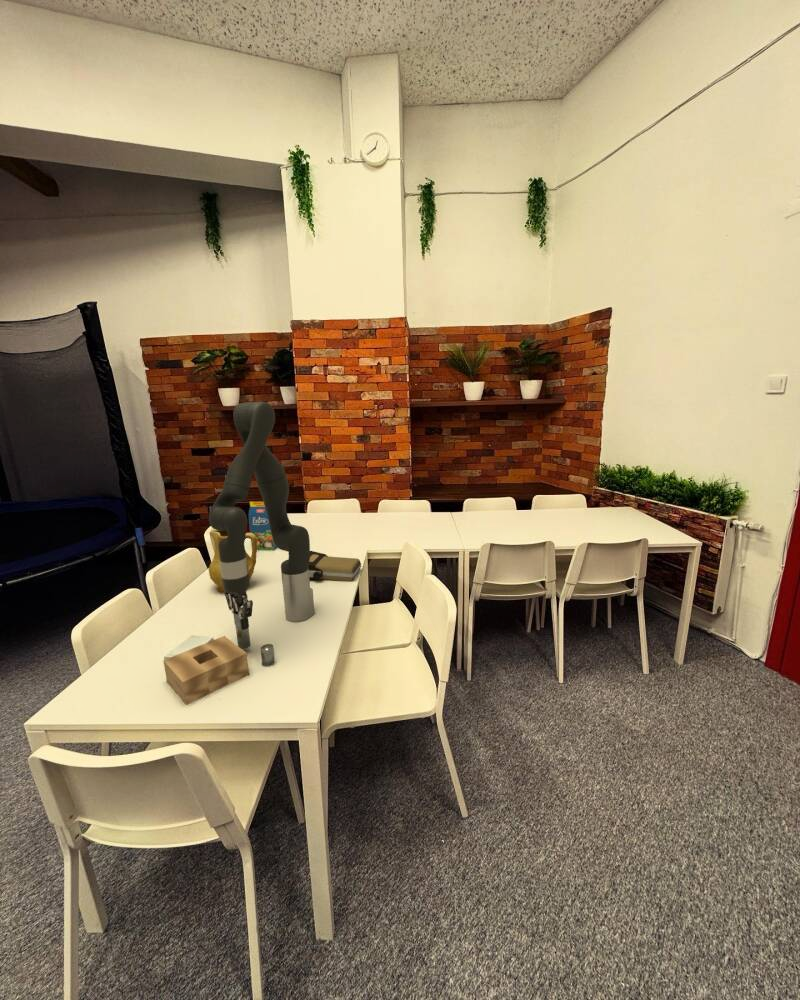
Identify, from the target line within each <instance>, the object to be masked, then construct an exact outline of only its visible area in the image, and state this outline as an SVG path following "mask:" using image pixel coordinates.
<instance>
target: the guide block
mask: <svg viewBox="0 0 800 1000" xmlns="http://www.w3.org/2000/svg"><path fill="white" fill-rule="evenodd" d="M248 660H249V659H248V653H247V652H246V651H245V650H244V649H241V648H239V647H238V644H236V643H235V642H233V641H232V640H230V639H229V638H228V637H227V636H226V635H223V636H220V637H218V638H216V639H214V640H213V641H210V642H208V643H205V644H203V645H200V646H198V647H195V648H193V649H190V650H188V651H185V652H183V653H180V654H178V655H175V656H173V657H170V658H168V659H165V660H164V659H163V661H162V662H163V666H164V673H165V679H166V682H167V683H168V685H169V686H170V687H171V689H172V690H173V691H174V692H175V693H176V694H177V695H178V697H179V698H180V699H181V700H182V701H183V703H184V704H185V705H189V704H191V703H193V702H195V701H197V700H199V699H201V698H203V697H205V696H207V695H209V694H211V693H213V692H216V691H217V690H219V689H222V688H224V687H226V686H229V684H232V683H234V682H237V681H239V680H240V679H242V678H245V677H247V676H249V675H250V670H249V661H248Z"/></svg>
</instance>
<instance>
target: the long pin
mask: <svg viewBox="0 0 800 1000" xmlns="http://www.w3.org/2000/svg"><path fill="white" fill-rule="evenodd" d="M234 619H235V622H234V625H235V633H236V640H237V646H238V647H239V648H241V649H242V650H246V649H249V648H250V647H251V645H252V644H251V635H250V627H249V628H247V629H245V630H242V629H241V624H240V617H239V613H238V612H235V613H234V615H233V620H234Z"/></svg>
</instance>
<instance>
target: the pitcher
mask: <svg viewBox="0 0 800 1000" xmlns="http://www.w3.org/2000/svg"><path fill="white" fill-rule="evenodd" d="M209 534H210V536H212V539H213V541H214V550H215V551H214V555H213V557H212V561H211V562H210V564H209V567H208V574H209V575H208V576H209V579H210V580H211V582H213V583H214V584H215V585H217V586H218V587H217V591H218V592H219V593H222V594H225V593H224V590H223V584H222V577H221V570H220V556H219V548H218V545H219V542H220V541H221V540H223V539H225V538H227V537H228V532H227V531H220V530H216V529H214V530H211V531H209ZM246 539H249V540H250V542H251V541H252V545H251V556H250V555H249V554H248V553H247V551H246V550H245V554H246V560H247V563H248V571H249V579H250V580H251V578H252V576H253V574H254V573H255V566H256V563H257V553H258V550H257V538H256V535H255V534H253V533H250V532H246V536H245V540H246Z"/></svg>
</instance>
